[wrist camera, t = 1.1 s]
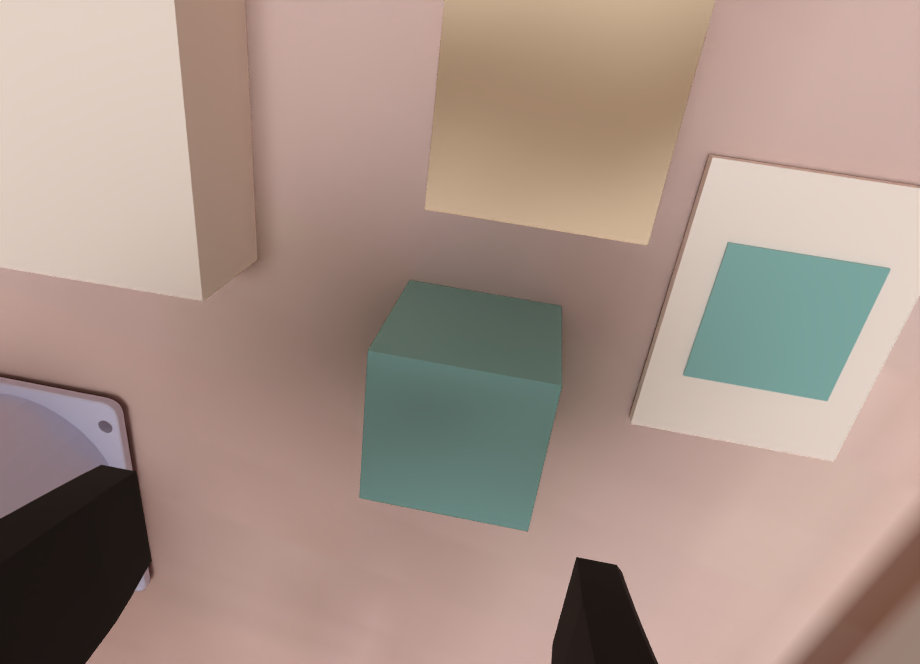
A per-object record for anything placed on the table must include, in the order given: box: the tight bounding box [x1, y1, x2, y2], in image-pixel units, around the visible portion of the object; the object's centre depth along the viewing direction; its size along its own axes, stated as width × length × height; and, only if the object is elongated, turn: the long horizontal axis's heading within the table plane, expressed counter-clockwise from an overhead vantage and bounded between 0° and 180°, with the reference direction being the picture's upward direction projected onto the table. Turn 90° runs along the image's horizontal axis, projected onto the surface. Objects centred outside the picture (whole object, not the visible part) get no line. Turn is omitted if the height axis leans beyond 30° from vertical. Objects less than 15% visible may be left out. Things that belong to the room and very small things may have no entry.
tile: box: [629, 154, 920, 462], centre depth 17 cm, size 8×6×1 cm
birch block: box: [425, 0, 715, 246], centre depth 13 cm, size 4×4×4 cm
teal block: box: [359, 280, 562, 531], centre depth 17 cm, size 4×4×4 cm
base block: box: [0, 0, 258, 301], centre depth 16 cm, size 8×8×4 cm
